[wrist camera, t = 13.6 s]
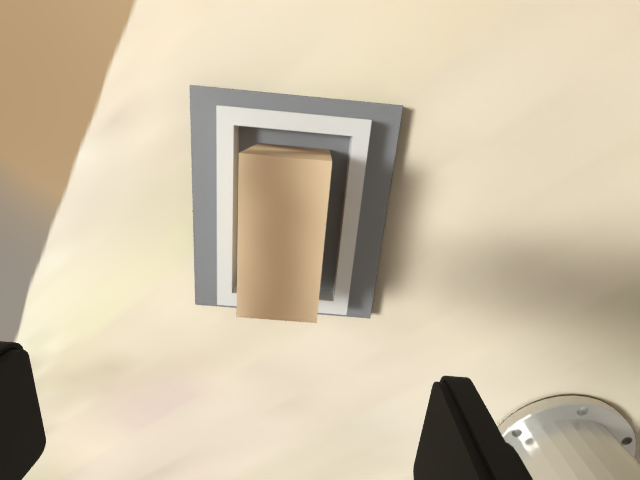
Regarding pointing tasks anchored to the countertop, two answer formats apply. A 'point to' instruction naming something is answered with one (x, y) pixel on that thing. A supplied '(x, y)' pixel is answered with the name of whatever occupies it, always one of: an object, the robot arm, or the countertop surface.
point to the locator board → (344, 195)
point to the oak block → (281, 230)
